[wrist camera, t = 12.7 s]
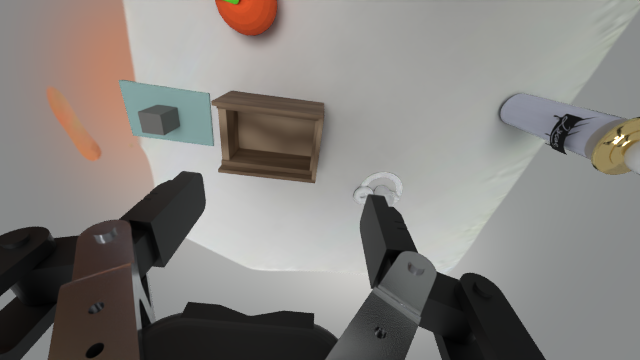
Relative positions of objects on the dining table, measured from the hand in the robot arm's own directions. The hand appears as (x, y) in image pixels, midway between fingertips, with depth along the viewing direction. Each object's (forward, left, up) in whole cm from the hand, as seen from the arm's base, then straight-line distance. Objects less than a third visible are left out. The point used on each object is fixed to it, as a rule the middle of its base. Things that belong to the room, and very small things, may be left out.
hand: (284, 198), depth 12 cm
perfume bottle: (-2, +31, -28) cm, 42 cm away
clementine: (-10, -9, -28) cm, 31 cm away
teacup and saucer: (+13, +13, -29) cm, 34 cm away
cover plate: (+6, -22, -28) cm, 36 cm away
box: (+6, -5, -28) cm, 29 cm away
